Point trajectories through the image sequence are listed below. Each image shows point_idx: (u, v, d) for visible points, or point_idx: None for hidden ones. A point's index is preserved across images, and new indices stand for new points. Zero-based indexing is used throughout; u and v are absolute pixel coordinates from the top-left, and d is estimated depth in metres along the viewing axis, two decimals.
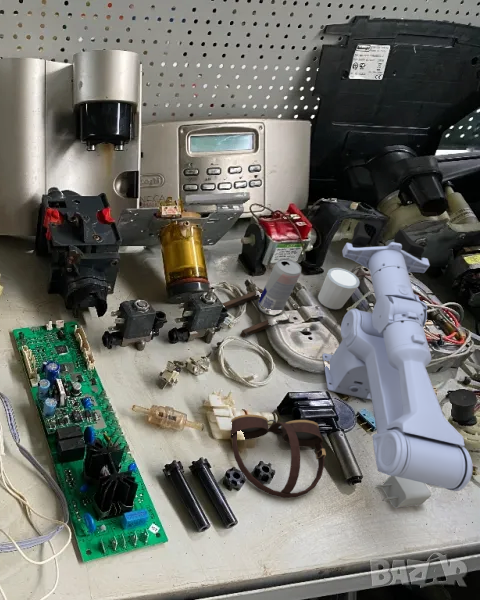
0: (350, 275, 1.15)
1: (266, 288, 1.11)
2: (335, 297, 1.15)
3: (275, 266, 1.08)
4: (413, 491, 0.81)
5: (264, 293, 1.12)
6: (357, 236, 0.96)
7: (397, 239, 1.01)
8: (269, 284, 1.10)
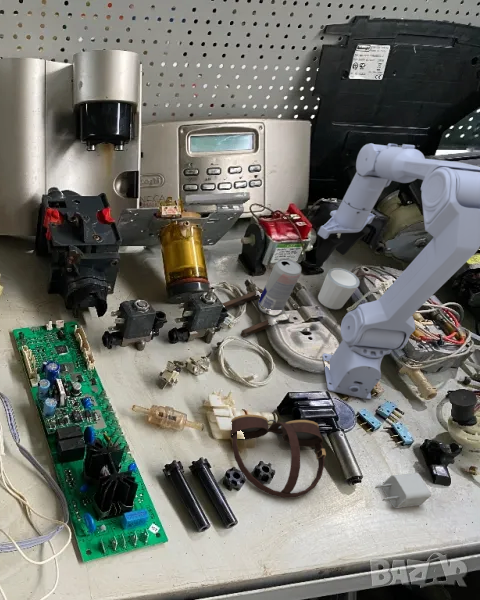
0: (350, 275, 1.15)
1: (266, 288, 1.11)
2: (335, 297, 1.15)
3: (275, 266, 1.08)
4: (413, 491, 0.81)
5: (264, 293, 1.12)
6: (317, 229, 1.08)
7: (343, 248, 1.14)
8: (269, 284, 1.10)
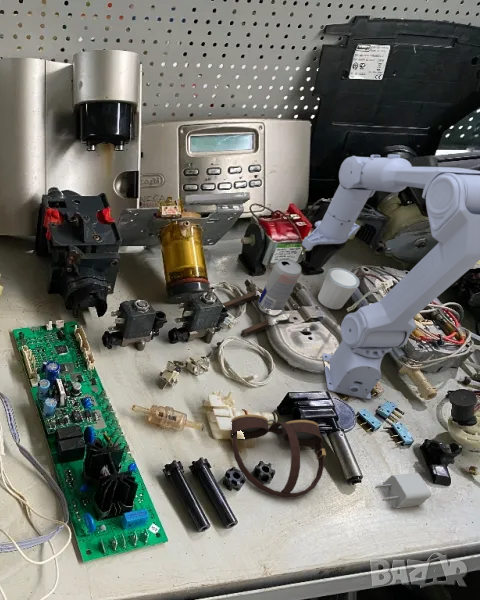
0: (350, 275, 1.15)
1: (266, 288, 1.11)
2: (335, 297, 1.15)
3: (275, 266, 1.08)
4: (413, 491, 0.81)
5: (264, 293, 1.12)
6: None
7: None
8: (269, 284, 1.10)
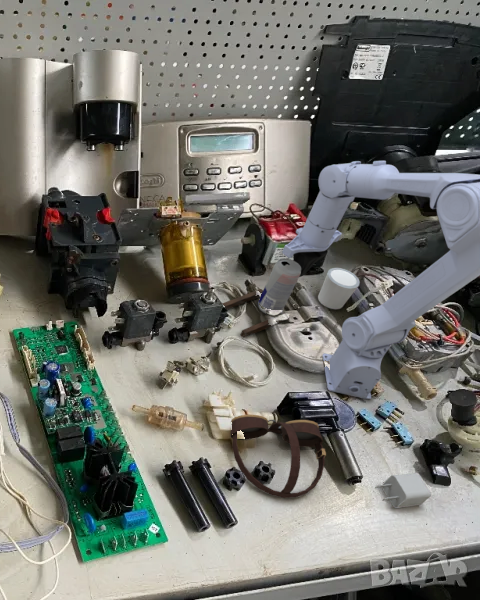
0: (350, 275, 1.15)
1: (266, 288, 1.11)
2: (335, 297, 1.15)
3: (275, 266, 1.08)
4: (413, 491, 0.81)
5: (264, 293, 1.12)
6: None
7: None
8: (269, 284, 1.10)
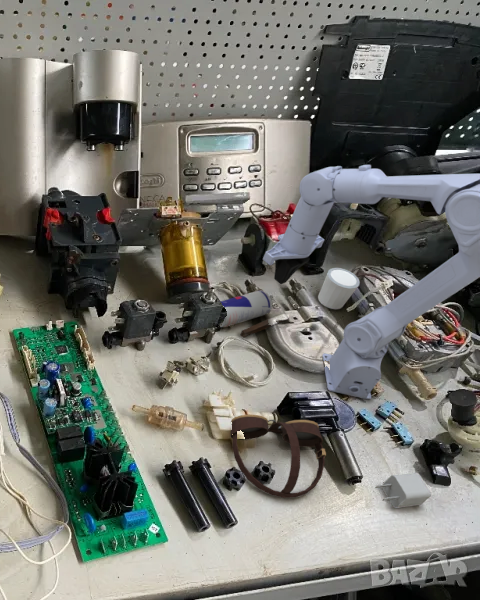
0: (350, 275, 1.15)
1: None
2: (335, 297, 1.15)
3: None
4: (413, 491, 0.81)
5: None
6: None
7: None
8: None
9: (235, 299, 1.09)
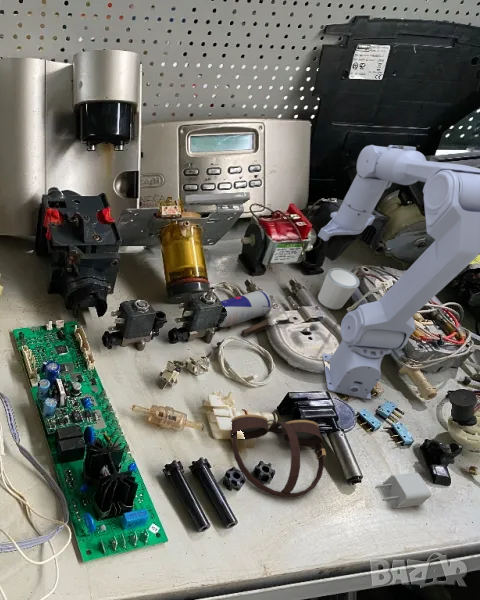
0: (350, 275, 1.15)
1: None
2: (335, 297, 1.15)
3: None
4: (413, 491, 0.81)
5: None
6: None
7: None
8: None
9: (235, 299, 1.09)
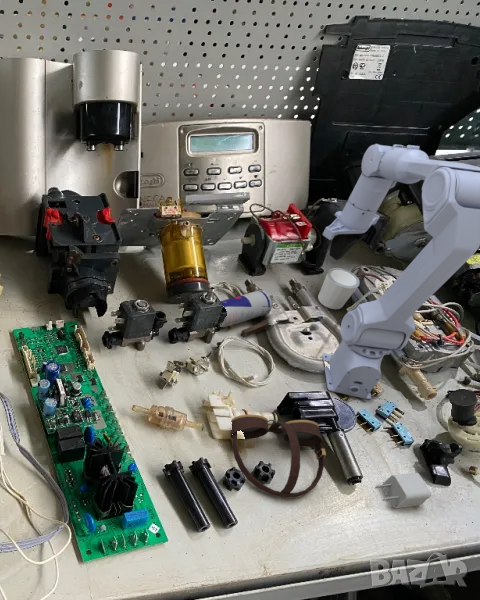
0: (350, 275, 1.15)
1: None
2: (335, 297, 1.15)
3: None
4: (413, 491, 0.81)
5: None
6: None
7: None
8: None
9: (235, 299, 1.09)
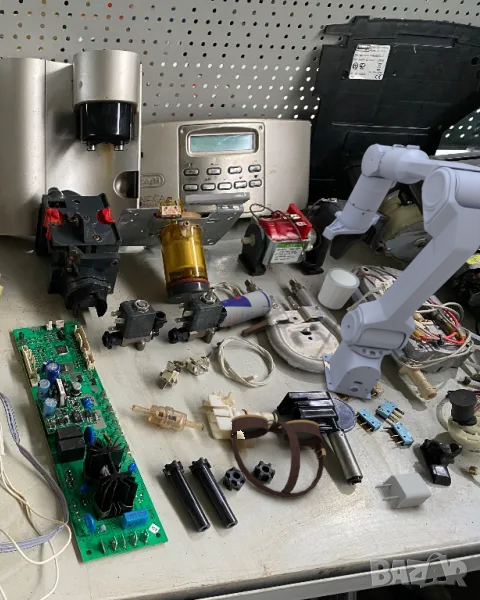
0: (350, 275, 1.15)
1: None
2: (335, 297, 1.15)
3: None
4: (413, 491, 0.81)
5: None
6: None
7: None
8: None
9: (235, 299, 1.09)
